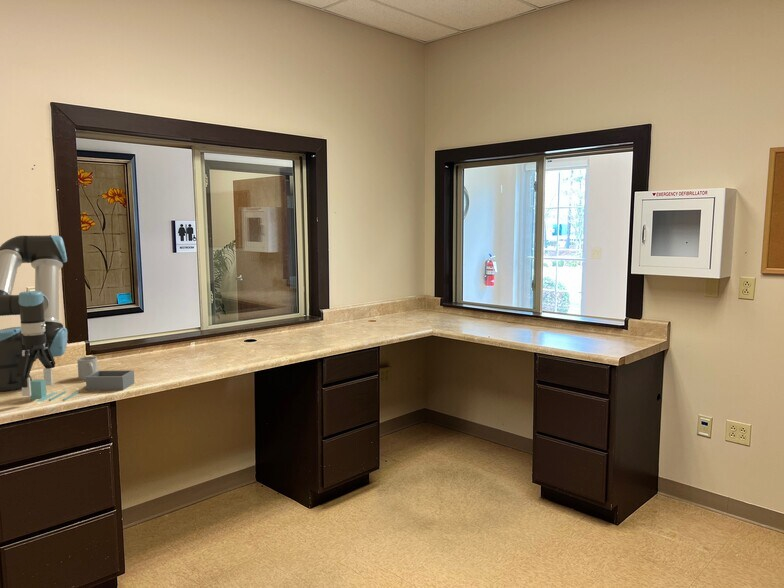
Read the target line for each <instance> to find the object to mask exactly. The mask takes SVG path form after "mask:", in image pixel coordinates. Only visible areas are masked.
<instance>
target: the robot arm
mask: <svg viewBox="0 0 784 588" xmlns="http://www.w3.org/2000/svg"><path fill="white" fill-rule="evenodd" d="M67 262H68V257H67V252H66V246H65V241H64V239H63V237H62V236H60V235H51V234H49V235H17V236H14V237H11V238H10V239H8V240H6V241H5V242H3V243H2V244H1V245H0V317H3V316H5V317H6V316H19V317H20V326H12V327H6V328H3V329H2V328H1V329H0V392H9V391H10V392H11V391H16V390H20V389H21V392H22V393H21V396H22V397H31V384H30V381H32V380H33V379H32V376H31V374H30V373H31V371H32V368H33V364H34V363H35V362H36V360H39V361H40V363H41V364H42V366H43V367H44V368H43V369H42V370H43V379H45V381H46V387H49V386H53V383H54V380H53V371H52V369H53V368H55V365H56V361H55V359H54V358H57V357H61V356H63V355H65V353H66V349H67V345H68V333H69V332H68V329H67V328H66V327H64V324H63V322H61V321H60V316H59V315H60V293H59V292H60V291H59V290H60V278H59V277H60V269H62V268H63V266H64V263H67ZM22 264H30V266H31V267H32V268H33V269H34V271H35V272H34V273H35V274H34V275H35V276H34V290H27V291H21V292H19V293H18V294H12V293H13V290H14V289H13V288H14V286H15V285H14V284H15V281H16V276H17V273H18V268H19V267H20V266H22Z"/></svg>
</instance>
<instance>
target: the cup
mask: <svg viewBox="0 0 784 588" xmlns="http://www.w3.org/2000/svg"><path fill="white" fill-rule="evenodd" d="M76 360H77V361H76V362H77V363H76V364H77V373H78V377H77V378H78V380H80V381H82V380H83V381H86V377H87V376H89V375H91V374H93V373H95V372H97V371H99V369H98V357H97V356H83V357H78V358H77V359H76Z"/></svg>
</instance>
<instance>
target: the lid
mask: <svg viewBox="0 0 784 588" xmlns="http://www.w3.org/2000/svg"><path fill="white" fill-rule="evenodd" d="M30 384H31V396H30V401H36V402H44V401H46V400H48V401H50V402H51V401H54V400H55V399H57V398H59V397H61V396H63V395H66V393H67V391H65V390H64V391H62V392H60V393H59V394H57V392H51V393H49V394H47V386H46V381H45V379H44V378H43V379H32V381H30ZM56 394H57V395H56ZM78 394H80V391H79V390H77V391H76V392H74V393H71V395H68V396H66V397H64V398H63V400H62V402H63V401H64V402H65V401H67V400H69V399H70V398H73V397H74V396H76V395H78ZM54 395H55V396H54Z"/></svg>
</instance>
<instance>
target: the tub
mask: <svg viewBox="0 0 784 588" xmlns="http://www.w3.org/2000/svg"><path fill="white" fill-rule="evenodd" d="M134 384H135V370H133V369H132V370H131V369H129V370H126V369H125V370H122V369H120V370H119V369H118V370H113V369H112V370H111V369H110V370H98V371H97V372H95V373H93V374H91V375H89V376H87V377H86V380H85V385H86V387H85V388H86V391H125V390H126V389H127V388H129V387H130V386H132V385H134Z"/></svg>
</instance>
